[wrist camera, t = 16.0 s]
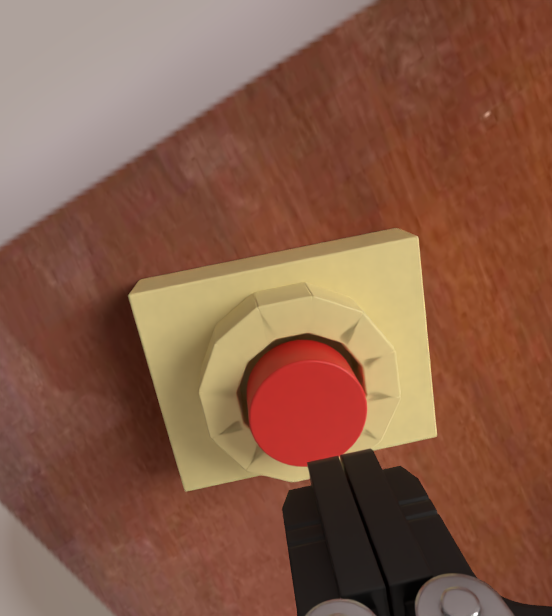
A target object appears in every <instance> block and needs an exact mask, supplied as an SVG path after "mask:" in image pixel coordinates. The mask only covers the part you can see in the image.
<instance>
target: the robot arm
mask: <svg viewBox="0 0 552 616" xmlns="http://www.w3.org/2000/svg"><path fill="white" fill-rule="evenodd" d="M307 466H308V471H309V476H310V481H311V486H307V487H302V488H298V489H293V490H289V492H288V494H287V497H286V500H285V502H284V505H283V508H282V511H283V518H284V525H285V531H286V539H287V545H288V552H289V559H290V566H291V573H292V580H293V587H294V594H295V600H296V607H297V616H552V607H549V606H537V605H528V604H522V603H518V602H514V601H511V600H509V599H506V598H504V597H502V596H500V595H499V594H498V593H497V592H496V591H495V590H494V589H493V588H492V587H491V586H489V585H488V584H487V583H485V582H483V581H481V580H479V579H478V578H477V577H476V576H475V574H474V573H473V572H472V570H471V568H470V567H469V565H468V563H467V561H466V560H465V558H464V556H463V555H462V553H461V551H460V549H459V548H458V546H457V544H456V543H455V541H454V539H453V538H452V536H451V534H450V532H449V531H448V529H447V527H446V526H445V524H444V522H443V520H442V519H441V517H440V515H439V514H437V510H436V508H435V507H434V505H433V503H432V502H431V500H430V499H429V498H428V495H427V493H426V491H425V490H424V488H423V486H422V485H421V483H420V481H419V479H418V478H417V477H415V476H414V475H412V474H411V473H410V472H408V471H407V470H405V469H404V468H403V467H401V466H397V467H393V468H388V469H384V470H382V468H381V466H380V464H379V462H378V460H377V458H376V456H375V454H374V452H373V450H372V449H371V448H370V449H365V450H360V451H356V452H351V453H347V454H342V455H340V459H339V457H338V456H334V457H329V458H324V459H320V460H315V461H311V462H307Z"/></svg>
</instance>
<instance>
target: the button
mask: <svg viewBox="0 0 552 616" xmlns="http://www.w3.org/2000/svg"><path fill="white" fill-rule="evenodd" d="M247 407H248V419H249V426H250V430H251V433H252V435H253V438H254V440H255V441H256V443H257V444H258V446H259V447H260V448H261V449H262V450H263V451H264V452H265V453H266V454H267V455H269V456H270V457H272V458H273V459H275V460H277V461H279V462H281V463H284V464H287V465H291V466H297V467H308V466H307V462H311V461H315V460H320V459H324V458H329V457H334V456H338V457H340V455H342V454H344V453H345V452H346V451H348V450H349V449H350V448H351V447H352V446H353V445H354V443H355V442H356V441H357V439H358V438H359V436H360V435H361V433H362V431H363V428H364V425H365V422H366V418H367V400H366V396H365V393H364V390H363V388H362V386H361V384H360V383H359V381H358V379H357V378H356V376H355V374H354V373H353V371H352V369H351V367H350V366H349V364H348V362H347V361H346V360H345V358H344V357H343V356H342V355H341V354H340V353H339V352H338V351H336V350H335V349H334V348H332V347H330V346H329V345H327V344H324V343H321V342H318V341H313V340H295V341H290V342H286V343H283V344H281V345H278V346H276V347H274V348H273V349H271V350H270V351H268V352H267V353H266V354H264V355H263V356H262V357H261V358H260V359H259V361H258V362H257V363H256V364H255V366H254V368H253V369H252V371H251V374H250V376H249V379H248V383H247Z"/></svg>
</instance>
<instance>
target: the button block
mask: <svg viewBox="0 0 552 616" xmlns="http://www.w3.org/2000/svg"><path fill="white" fill-rule="evenodd" d="M128 298H129V301H130V305H131V308H132V312H133V315H134V319H135V322H136V326H137V329H138V332H139V336H140V339H141V343H142V346H143V350H144V353H145V357H146V360H147V363H148V367H149V370H150V374H151V377H152V381H153V384H154V388H155V391H156V394H157V398H158V401H159V405H160V408H161V412H162V415H163V418H164V422H165V425H166V429H167V432H168V436H169V439H170V443H171V446H172V449H173V453H174V456H175V460H176V463H177V467H178V470H179V474H180V477H181V480H182V484H183V487H184V490H185V491H191V490H196V489H200V488H205V487H209V486H214V485H218V484H223V483H228V482H232V481H237V480H241V479H246V478H250V477H255V476H260V475H264V476H268V477H272V478H276V479H280V480H284V481H288V482H297V481H302V480H306V479H310V476H309V471H308V467H297V466H291V465H287V464H284V463H281V462H279V461H277V460H275V459H273V458H272V457H270V456H269V455H267V454H266V453H265V452H264V451H263V450H262V449H261V448H260V447H259V446H258V444H257V443H256V441H255V440H254V438H253V435H252V433H251V430H250V426H249V419H248V407H247V383H248V379H249V376H250V374H251V371H252V369H253V368H254V366H255V364H256V363H257V362H258V361H259V359H260V358H261V357H262V356H263V355H264V354H266V353H267V352H268V351H270V350H271V349H273V348H274V347H276V346H278V345H281V344H283V343H286V342H290V341H295V340H313V341H318V342H321V343H324V344H327V345H329V346H330V347H332V348H334V349H335V350H336V351H338V352H339V353H340V354H341V355H342V356H343V357H344V358H345V360H346V361H347V362H348V364H349V366H350V367H351V369H352V371H353V373H354V374H355V376H356V378H357V379H358V381H359V383H360V384H361V386H362V388H363V390H364V393H365V396H366V400H367V418H366V422H365V425H364V428H363V431H362V433H361V435H360V436H359V438H358V439H357V441H356V442H355V443H354V445H353V446H352V447H351V448H350V449H349V450H348V451H346V452H345V453H344V454H347V453H351V452H356V451H360V450H365V449H370V448H371V449H372V450H373V451H374V450H378V449H383V448H387V447H392V446H397V445H401V444H406V443H410V442H415V441H419V440H424V439H429V438H433V437H436V436H437V431H436V420H435V409H434V399H433V388H432V377H431V367H430V356H429V345H428V335H427V324H426V313H425V303H424V292H423V281H422V271H421V260H420V249H419V239H418V236H416V235H413V234H411V233H408V232H406V231H403V230H401V229H398V228H393V229H388V230H383V231H378V232H373V233H368V234H363V235H358V236H354V237H349V238H344V239H339V240H334V241H329V242H324V243H319V244H314V245H309V246H304V247H299V248H294V249H289V250H284V251H279V252H274V253H269V254H264V255H259V256H254V257H249V258H244V259H239V260H234V261H230V262H225V263H220V264H215V265H210V266H205V267H200V268H195V269H190V270H185V271H180V272H175V273H170V274H165V275H160V276H155V277H150V278H145V279H140V280H139V281H138V282H137V284H136V285H135V286H134V288H133V289H132V291H131V292H130V293H129V295H128ZM339 459H340V457H339Z"/></svg>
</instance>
